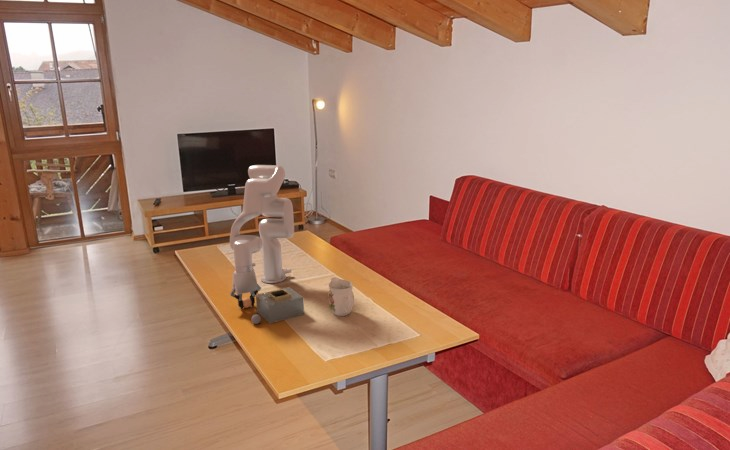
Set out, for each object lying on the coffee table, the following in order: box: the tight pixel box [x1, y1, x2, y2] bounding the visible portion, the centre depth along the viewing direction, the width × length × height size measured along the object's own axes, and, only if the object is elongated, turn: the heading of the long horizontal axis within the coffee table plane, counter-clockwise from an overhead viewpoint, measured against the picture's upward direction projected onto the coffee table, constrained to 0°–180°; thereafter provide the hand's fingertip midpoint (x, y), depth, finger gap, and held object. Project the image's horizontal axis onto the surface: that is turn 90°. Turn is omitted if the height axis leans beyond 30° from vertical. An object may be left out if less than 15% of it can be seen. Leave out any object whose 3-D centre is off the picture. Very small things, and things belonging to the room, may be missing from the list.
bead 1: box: [242, 297, 252, 309], centre depth 242 cm, size 4×4×4 cm
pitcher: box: [327, 277, 355, 317], centre depth 233 cm, size 11×18×14 cm, turn 27°
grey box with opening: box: [255, 286, 305, 324], centre depth 235 cm, size 16×14×9 cm
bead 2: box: [250, 313, 262, 325], centre depth 226 cm, size 4×4×4 cm
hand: (246, 306), depth 242 cm, fingers closed on bead 1, 4 cm apart
